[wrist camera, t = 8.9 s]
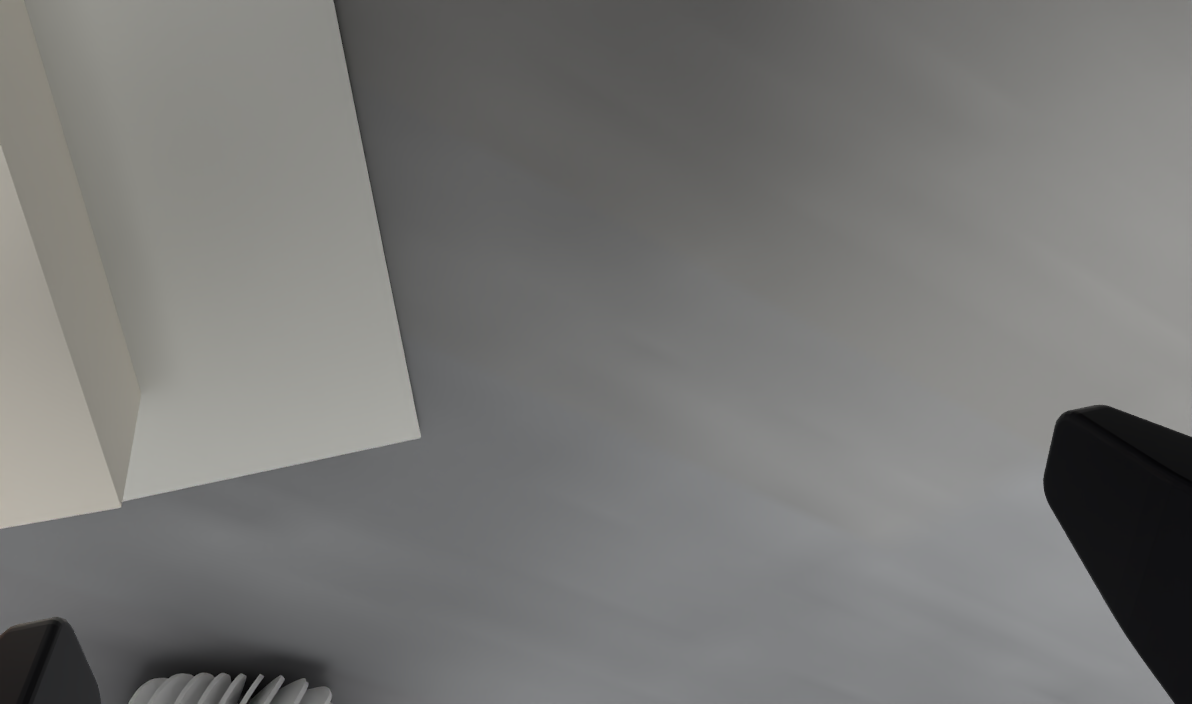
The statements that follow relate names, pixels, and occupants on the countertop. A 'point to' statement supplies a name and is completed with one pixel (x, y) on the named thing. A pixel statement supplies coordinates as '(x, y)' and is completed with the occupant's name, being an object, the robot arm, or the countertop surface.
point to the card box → (53, 313)
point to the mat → (231, 230)
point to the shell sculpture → (226, 691)
